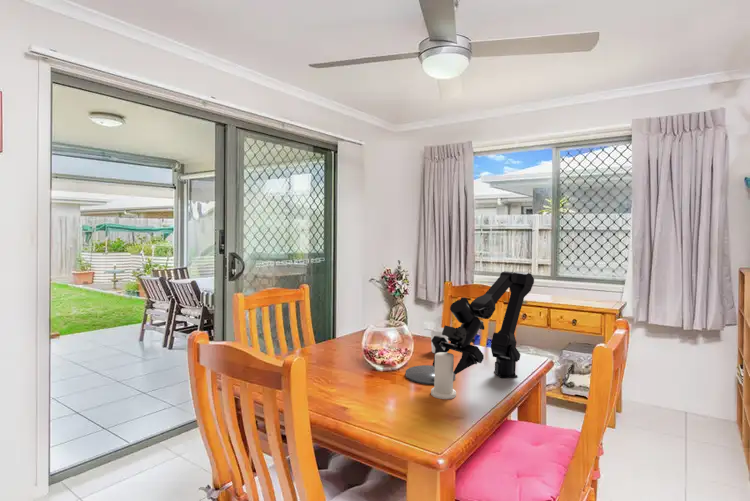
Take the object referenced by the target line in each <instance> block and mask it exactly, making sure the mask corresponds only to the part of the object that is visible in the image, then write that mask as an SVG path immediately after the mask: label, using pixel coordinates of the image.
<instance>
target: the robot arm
mask: <svg viewBox="0 0 750 501" xmlns="http://www.w3.org/2000/svg"><path fill="white" fill-rule="evenodd" d="M534 283H535V278H534V276H533V275H532V274H531V273H530V272H521V271H506V270H505V271H502V272H501V273H500V275H499V277H498V278H497V279H496V280H495V282H494V283H493V284H492V285H491V286H490V287H489V288H488V289H487V291H486V292H485V293H484V294H483V295H479V296H477V297H475V299H473V300H472V301H471V302H469V299H468V298H467V297H463V296H462V297H460V299H458V300H455V301H453V302H452V303H451V304H450V307H449V310H450V312H451V313H452V314H453V316H454V317H455V319H456V320H457V321H458V322H459V323H460V326H458V327H453V326H450V325H445V324H444V327H443V328H444V329H443V332H442V335H445V336H447V337H448V342H447V341H446V339H445V338H444V337H440V336H434V337H433V339H432V340H431V339H430V341H432V343H433V345H434V346H435V353H434V357H433V361H432V366H434V367H435V354H436V353H439V352H447V353H449V351H450V350H452V351H455V352H459V353H461V357H460V359H459V361H458V363H457V365H456V366H455V368H454V369H453V371H454V374H456V375H457V374H459V373H461V372H462V371H464V370H465V369H468V368H470V367H471V366H473V365H477V364H482V362H483V361H484V358H485V357H484V353H483V352H482V351H481V349H480V348H479V346H477V345H473V344H474V343H475V342H476V340H475V337H476V335H477V333H478V331H480V330H483V331H484V330H485V325H484V321H481V319H484V320H489V319H490V318H492V316H493V314H494V313H495V311H496V304H497V303H498V301H499V300H500V299H501V298H502V297H503V295H504V294H506V292H507V291H508V289H509V291H510V294H509V297H508V298H509V300H508V302H507V306H506V309H505V313H504V315H503V316H504V317H503V320H502V322H501V323H502V324H501V328H500V330H499V331H497V332H494V333H493V334H492V338H491V341H490V351H491V353H492V354H491V355H492V357H493V358H495V360H496V361H494V371H493V374H495V375H497V376H498V377H499V378H501V379H503V378H504V379H508V378H509V379H510V378H518V377H519V376H518V375H517V374H516V366H517V364H516V363H517V362H519V361H520V359H521V353H520V352H519V349H517V339H516V336H515V333H516V332H515V331H516V329H517V324H518V322H519V318H520V314H521V311H522V310H521V309H522V308H523V307H522V306H523V303H524V300H525V298H526V296H527V295H528V294H530V292H531V291H532V288H533V285H534Z"/></svg>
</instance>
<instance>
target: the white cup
mask: <svg viewBox="0 0 750 501" xmlns="http://www.w3.org/2000/svg"><path fill="white" fill-rule="evenodd" d="M443 329H444V327H432V328H430V341H431V340H432V339H433V337H434V336H440V337H444V338H445V339H446V341H447V342H448V343H449V340H448V337H447V336H445V335H442V332H443ZM430 343H431V352H432V353H433V354H435V346H434V345H433V343H432V341H431V342H430ZM446 353H448V352H446Z"/></svg>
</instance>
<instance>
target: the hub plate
mask: <svg viewBox="0 0 750 501" xmlns="http://www.w3.org/2000/svg"><path fill="white" fill-rule="evenodd" d="M434 374H435V367H434V366H433V365H431V364H430V365H429V364H427V365H416V366H411V367H409V368H407V369H406V370H405V377H406V379H408V380H409V381H411V382H413V383H418V384H422V385H430V386H434ZM456 376H457V374H454V370H453V382H454V381H456V379H457V378H456Z"/></svg>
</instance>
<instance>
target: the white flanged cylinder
mask: <svg viewBox="0 0 750 501" xmlns="http://www.w3.org/2000/svg"><path fill="white" fill-rule="evenodd" d="M434 356H435V374H434V385H433V386H434V387H432V388H431V389H430V395H431V396H432V397H434V398H435V399H440V400H452V399H455V398H456V397H457V391H456V389H454V381H453V371H454V362H455V361H454V360H455V359H454V358H455V355H454V354H453V353H451V352H447V353H446V352H439V353H436V354H435V353H434Z"/></svg>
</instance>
